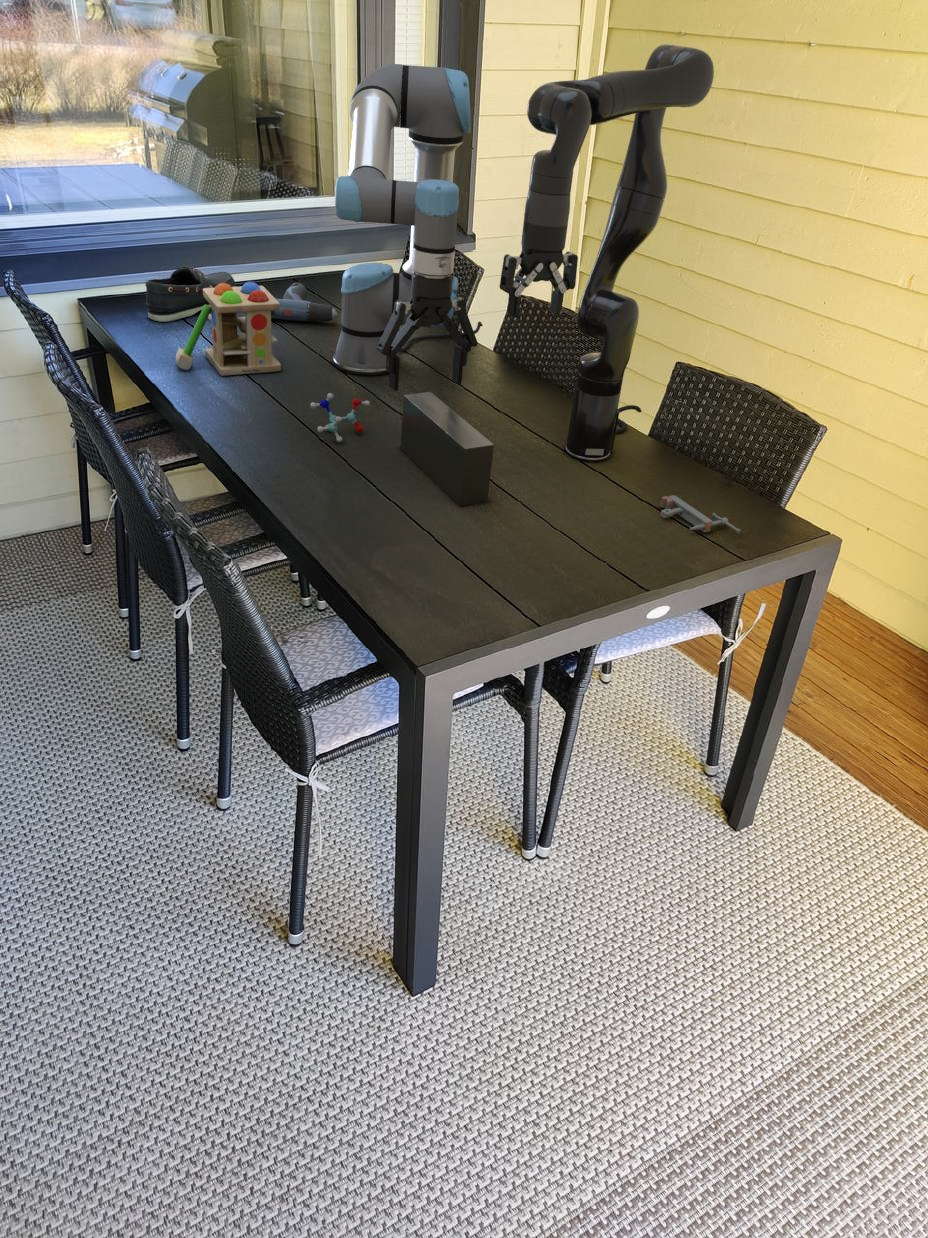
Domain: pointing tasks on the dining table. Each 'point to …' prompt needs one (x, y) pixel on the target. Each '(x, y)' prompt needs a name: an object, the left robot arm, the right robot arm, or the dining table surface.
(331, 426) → the molecular model
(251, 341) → the pounding bench toy
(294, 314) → the power drill
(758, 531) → the dining table surface
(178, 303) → the boat shoe
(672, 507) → the clamp
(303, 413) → the dining table surface
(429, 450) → the box
